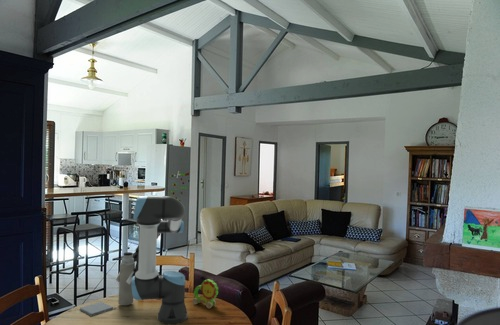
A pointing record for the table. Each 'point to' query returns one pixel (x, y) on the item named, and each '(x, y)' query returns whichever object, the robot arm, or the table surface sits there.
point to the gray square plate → (96, 308)
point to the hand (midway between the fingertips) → (122, 281)
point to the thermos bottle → (125, 271)
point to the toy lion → (206, 293)
